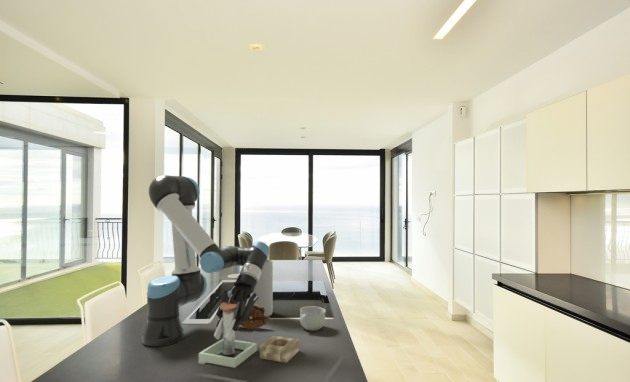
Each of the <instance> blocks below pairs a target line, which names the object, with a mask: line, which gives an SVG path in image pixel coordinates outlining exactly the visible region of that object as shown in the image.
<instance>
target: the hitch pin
mask: <svg viewBox="0 0 630 382" xmlns="http://www.w3.org/2000/svg"><path fill="white" fill-rule="evenodd" d="M219 306H220V309H221V310H223V331H222V339H223V352H222V355H223V356H229V355H233V354H235V349H236V348H235V340H236V339H235V337H236V334H235V332H236V331H235V332H234V335H233V337H232V339H231V341H228V340H227V339H226V335H227V332H228V330H229V328H230V325H231V323H232V321H233V319H235V315H236V314H235V313H236V311H235V310H238V303H237V302H223V303H221V302H220V304H219Z"/></svg>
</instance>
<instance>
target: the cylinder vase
mask: <svg viewBox="0 0 630 382" xmlns="http://www.w3.org/2000/svg"><path fill="white" fill-rule="evenodd" d="M273 261H274V260H271V259H267V260H266V262H265V265H264V267H263V269H262V272H261V275H260V277H259V280H258V282H257V284H256V287H255V289H254V291H253V293H256V295H257V296H258V299H257V300H256V302H255V303H254V304H256V305H259V306H261V307H264V309H265V312H264V315H265V316H266V317H267V316H268V317H270V316H272V314H273V311H274V310H273V307H274V304H273V302H274V301H273V299H274V298H273V296H274V295H273V294H274V293H273V291H274V290H273V289H274V288H273V286H274V285H273V284H274V282H273V279H274V277H273V276H274V275H273V272H274V271H273V269H274V268H273ZM249 299H250V298H248V299H247V303H248V301H249ZM247 303H246V305H247ZM246 305H245V306H246Z"/></svg>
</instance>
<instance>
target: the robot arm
mask: <svg viewBox="0 0 630 382" xmlns="http://www.w3.org/2000/svg"><path fill="white" fill-rule="evenodd" d="M148 196H149V199H150V201H151V203H152V205H153V206H154V208H155V209H156V210H157V211H158V212H162V213H163V214H164V215H165V216H166V218H167V219H168V220H169V221H170V223H171V231H172V232H171V233H172V243H173V245H172V246H173V258H174V269H173V270H172V272H171V275H166V276H165V275H164V276H161V277H156V278H154V279H152V280H151V281H150V282H149V283H148V285H147V293H146V296H147V297H146V298H147V299H146V300H147V304H146V305H147V306H146V308H147V310H146V312H147V313H146V314H147V317H146V318H147V319H146V320H147V321H146V324H145V327H144V330H143V333H142V335H141V336H142V337H141V342H142V344H143V345H145V346H147V347H162V346H168V345H172V344H175V343H178V342H180V341H181V340H183V339H184V337H185V331H184V329H185V328H183V325H182V321H181V319H180V307H182V306H185V305H188V304H190V303H193V302H196V301H197V300H199V299H200V298H202V297H203V296H204V295H205V294H206V291H207V287H208V283H207V279H206V278H207V277H206V276H204V274H203V273H201V270H202V271H203V272H204V273H207V274H213V273H218V272H220V271H223V270H226V269H229V268H232V267H241V269H240V271H239V274H238V276H237V278H236V280H235V283H234V287H233V288H231V290H227V289H225V290H224V291H223V297H222V299H221V301H220V304H221V303H223V302H237V304H238V306H237V312H236V314H237V315H236V314H235V315H236V317H235V318H236V320H235V319H233V321H232V323H231V325H230V328H229V330H228V332H227V335H226V339H227V340H228V341H231V339H232V337H233V335H234V332H237V331H238V330H239V327H240V326H241V325H240V323H241V322H243V321H244V322H246V321H247V319H248V317H249V315H250V312H251V310H252V308H253V305H254V303H255V302H256V300H257V299H258V296H257V295H256V293H253V291H254V289H255V287H256V284H257V282H258V280H259V277H260V275H261V272H262V269H263V267H264V265H265V262H266V260H269V255H270V251H271V250H270V249H271V248H270V247H269V245H267V244H266V242H263V241H256V242H255V241H254V242H253V243H252V245H251V246H250V247H249V246H248V247H244V246H234V245H230V246H228V245H227V246H223V247H222V248H221V247H220V246H218V244H216V242H215V241H214V240H213V239H212V237H211V236H210V235H209V234H208V233H207V232H206V230H205V229H204V228H203V227H202V226H201V224H200V223H199V222H198V221H197V220H196V218H195V217H194V216H193V210H194V209H195V208H196V201H198V198H199V196H200V187H199V185H198V182H197V181H196V180H194V179H193V178H191V177H187V176H185V175H184V176H180V175H168V174H165V175H164V174H163V175H159V176H156V178H154V179H153V180H152V181H151V183H150V184H149V187H148ZM196 254H197V256H198V257H200V259H199V265H200V267H199V266H198V265H197V259H196ZM248 298H250V299H249V301H248V303H247V299H248ZM246 303H247V305H246ZM245 306H246V307H245ZM216 316H217V317H218V318H219V319H218V321H217V323H216V330H215V332H214V334H213V337H214V338H215V339H216V340H220V339H221V336H222V335H223V310H221V309H220V305H219V306H218V308H217V311H216Z"/></svg>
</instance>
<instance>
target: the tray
mask: <svg viewBox="0 0 630 382" xmlns="http://www.w3.org/2000/svg"><path fill="white" fill-rule="evenodd" d="M257 347H258V343H256V342H249V341H244V340H236V339H235V349H238V350H242V352H239V354H237V355H235V356H234V357H230V356H227V355H220V354H221V353H223V338H222V339H221V338H220V339H219V340H218V341H216V342H215V343H213V344H211V345H210V346H208V347H207V348H205V349H202V351H200V352H199V353H198V365H204V364H206V363H207V364H214V365H217V366H224V367H229V368H234V369H236V368H237V367H238V366H239V365H240V364H241V363H243V362H245V361H246V360H247V359H248V358H250V357H251V355H253V354H255V353H256V352H257V351H258V348H257Z"/></svg>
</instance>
